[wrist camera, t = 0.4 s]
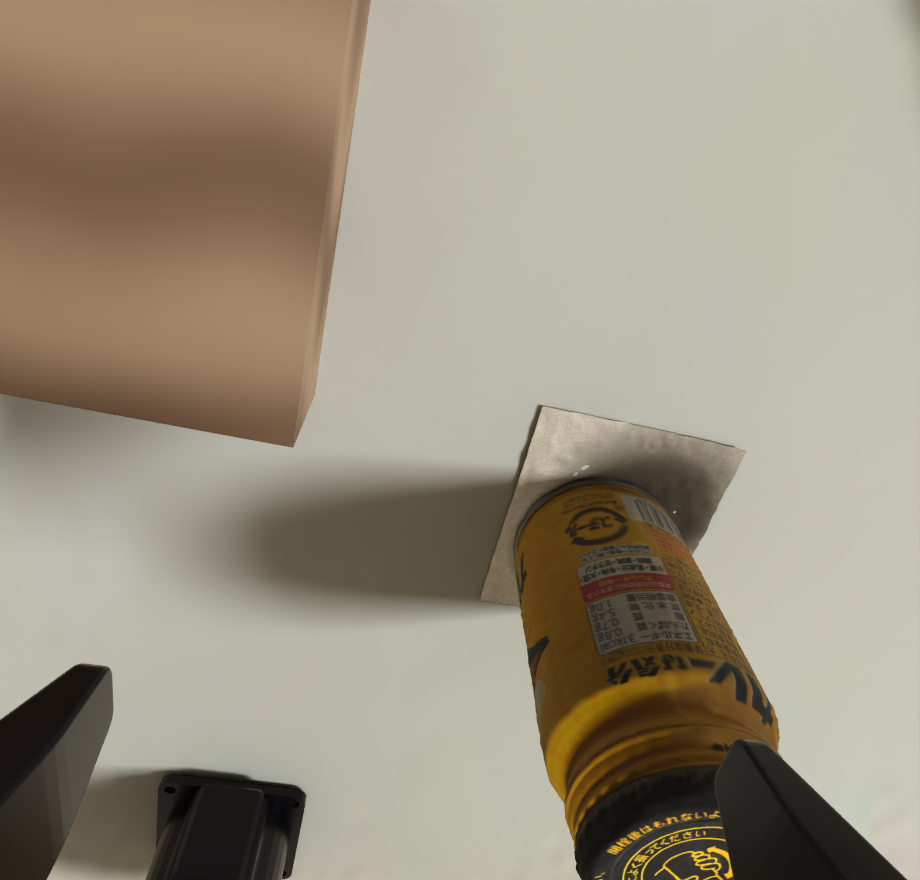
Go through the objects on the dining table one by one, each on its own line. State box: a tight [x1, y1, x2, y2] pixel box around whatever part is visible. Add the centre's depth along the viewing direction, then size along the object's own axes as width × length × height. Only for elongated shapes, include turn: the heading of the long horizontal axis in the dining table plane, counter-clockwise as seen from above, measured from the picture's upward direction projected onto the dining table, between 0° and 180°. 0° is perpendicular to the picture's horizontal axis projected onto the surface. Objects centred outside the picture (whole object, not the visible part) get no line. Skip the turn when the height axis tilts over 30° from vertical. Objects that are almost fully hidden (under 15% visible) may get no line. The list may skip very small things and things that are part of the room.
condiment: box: [480, 406, 782, 880], centre depth 19 cm, size 7×8×12 cm
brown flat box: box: [0, 0, 371, 447], centre depth 17 cm, size 12×12×4 cm
